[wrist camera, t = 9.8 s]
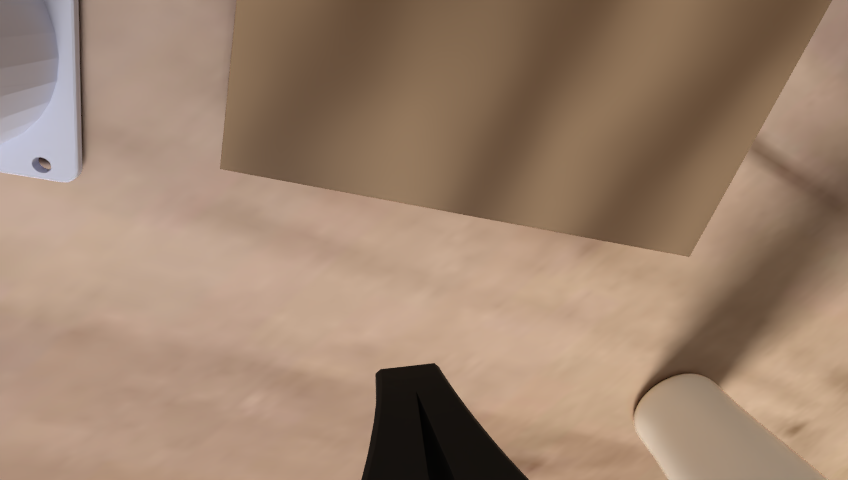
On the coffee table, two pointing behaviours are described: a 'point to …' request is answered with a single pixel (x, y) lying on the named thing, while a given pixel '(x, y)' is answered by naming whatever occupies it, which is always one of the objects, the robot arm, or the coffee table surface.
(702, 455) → the drinking glass
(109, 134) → the coffee table surface
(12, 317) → the coffee table surface
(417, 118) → the seat board
